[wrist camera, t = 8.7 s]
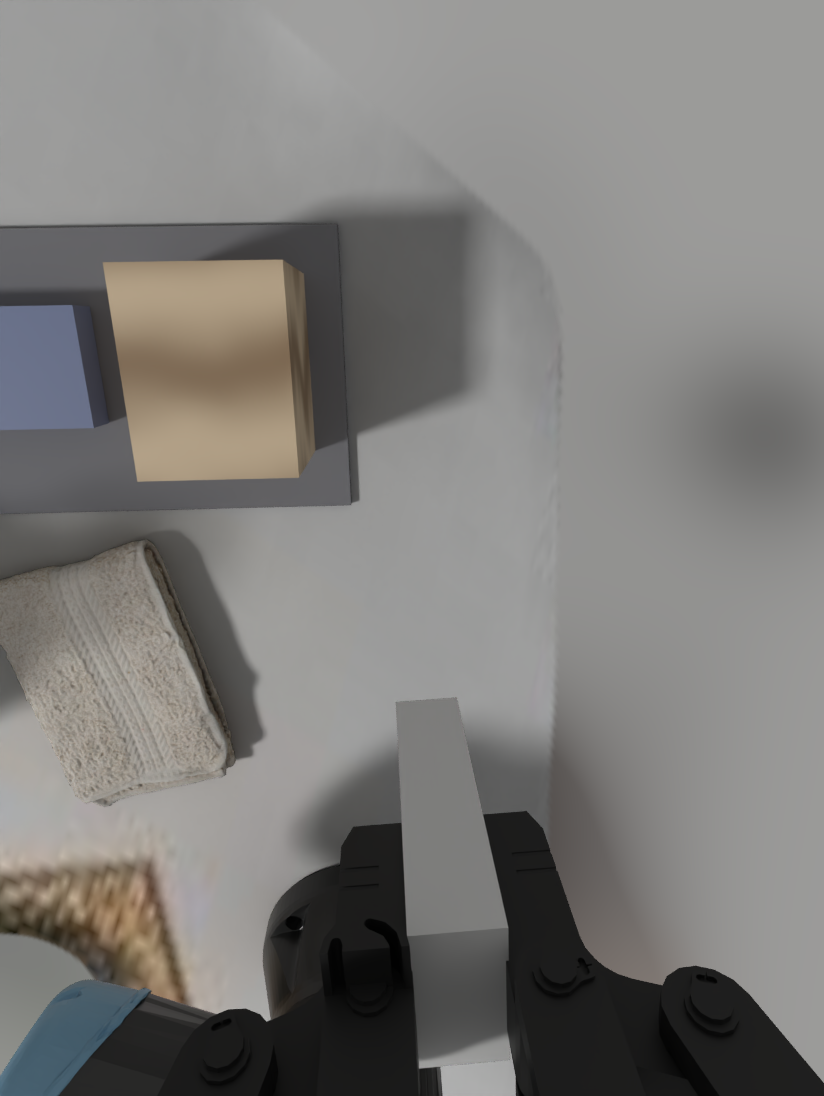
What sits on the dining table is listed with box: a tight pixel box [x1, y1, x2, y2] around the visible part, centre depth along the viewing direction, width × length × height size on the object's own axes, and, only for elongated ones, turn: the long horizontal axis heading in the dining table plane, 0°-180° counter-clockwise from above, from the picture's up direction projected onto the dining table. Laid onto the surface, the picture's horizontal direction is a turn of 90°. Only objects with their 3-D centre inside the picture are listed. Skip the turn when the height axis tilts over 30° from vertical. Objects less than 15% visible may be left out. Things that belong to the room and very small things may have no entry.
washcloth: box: [0, 540, 236, 807], centre depth 43 cm, size 12×18×3 cm, turn 15°
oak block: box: [103, 260, 315, 482], centre depth 34 cm, size 10×8×8 cm
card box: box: [0, 305, 109, 430], centre depth 36 cm, size 6×9×2 cm
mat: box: [0, 224, 351, 514], centre depth 38 cm, size 16×24×1 cm, turn 91°
